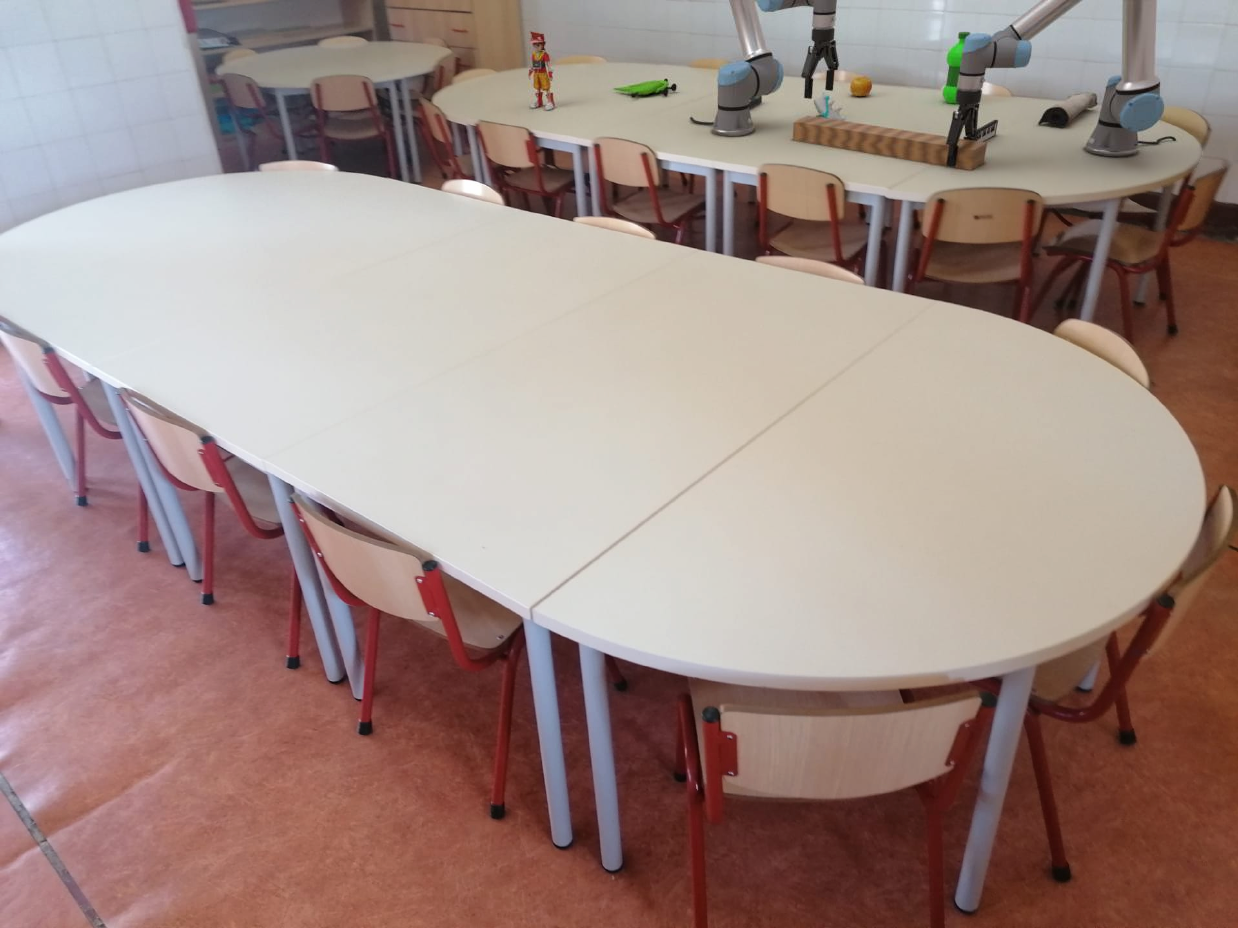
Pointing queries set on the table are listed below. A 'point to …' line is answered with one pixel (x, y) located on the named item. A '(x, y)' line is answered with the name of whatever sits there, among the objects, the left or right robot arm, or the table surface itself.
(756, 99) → the disk drive
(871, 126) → the wide beam
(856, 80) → the fruit
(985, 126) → the midi keyboard
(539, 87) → the toy
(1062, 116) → the rolled mat
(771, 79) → the left robot arm
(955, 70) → the plastic bottle
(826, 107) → the anatomical model
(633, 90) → the toy
